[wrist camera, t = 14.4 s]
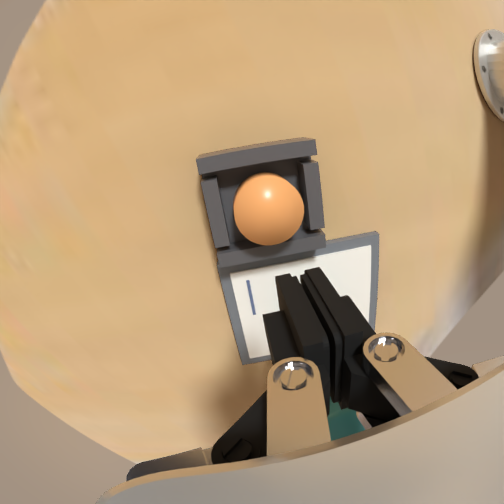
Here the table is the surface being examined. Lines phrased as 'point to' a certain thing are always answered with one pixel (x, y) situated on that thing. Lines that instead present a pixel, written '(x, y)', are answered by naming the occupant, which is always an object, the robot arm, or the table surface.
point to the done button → (267, 209)
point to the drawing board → (264, 286)
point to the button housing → (243, 166)
